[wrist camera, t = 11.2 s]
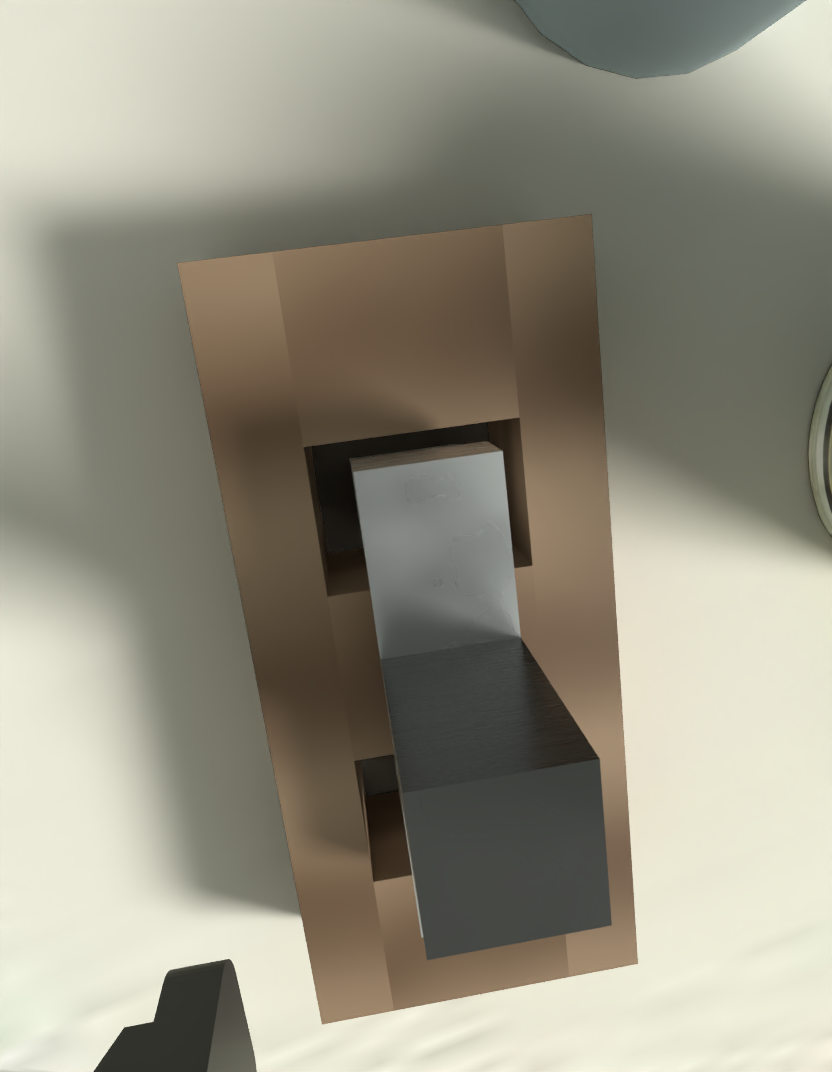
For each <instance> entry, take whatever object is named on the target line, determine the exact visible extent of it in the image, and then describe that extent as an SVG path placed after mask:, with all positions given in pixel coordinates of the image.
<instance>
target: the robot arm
mask: <svg viewBox="0 0 832 1072" xmlns="http://www.w3.org/2000/svg"><path fill="white" fill-rule="evenodd" d="M94 1072H256V1063H255V1056H254V1051H253V1046H252V1042H251V1038H250V1033H249V1029H248V1024H247V1020H246V1016H245V1011H244V1007H243V1003H242V998H241V994H240V989H239V985H238V981H237V976H236V972H235V968H234V965H233V963H232V961H231V960H230V959H226V960H221V961H216V962H210V963H205V964H200V965H194V966H189V967H184V968H179V969H173V970H170V971H168V973H167V974H166V977H165V979H164V982H163V986H162V990H161V994H160V998H159V1002H158V1006H157V1010H156V1014H155V1018H154V1022H151V1023H145V1024H140V1025H135V1026H130V1027H125V1028H124V1029H123V1030H122V1032H121V1033H120V1034H119V1036H118V1037H117V1039H116V1040H115V1042H114V1043H113V1044H112V1046H111V1047H110V1049H109V1050H108V1052H107V1053H106V1054H105V1056H104V1057H103V1059H102V1060H101V1062H100V1063H99V1064H98V1066H97V1067H96V1069H95V1070H94Z"/></svg>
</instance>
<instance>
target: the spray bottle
mask: <svg viewBox="0 0 832 1072" xmlns="http://www.w3.org/2000/svg"><path fill="white" fill-rule="evenodd" d="M516 1H517V3H518V4H519V5H520V7H521V8H522V9H523V11H524V12H525V13H526V15H527V16H528V17H529V19H530V20H531V21H532V23H533V24H534V25H535V27H536V28H537V29H538V31H539V32H540V33H541V34H542V35H544V36H545V37H546V38H548V39H549V40H551V41H552V42H554V43H555V44H556V45H558V46H559V47H561V48H562V49H564V50H565V51H566V52H568V53H569V54H571V55H572V56H574V57H575V58H576V59H578V60H579V61H581V62H582V63H584V64H585V65H588V66H591V67H595V68H599V69H603V70H606V71H610V72H614V73H618V74H621V75H625V76H629V77H633V78H636V79H637V78H647V77H657V76H667V75H676V74H686V73H690V72H692V71H694V70H696V69H698V68H700V67H702V66H704V65H706V64H708V63H711V62H713V61H715V60H717V59H719V58H721V57H723V56H725V55H727V54H729V53H731V52H733V51H735V50H737V49H739V48H740V47H741V46H743V45H744V44H746V43H747V42H748V41H750V40H751V39H753V38H754V37H755V36H757V35H758V34H760V33H761V32H762V31H764V30H765V29H767V28H768V27H769V26H771V25H772V24H774V23H775V22H776V21H778V20H779V19H781V18H782V17H783V16H785V15H786V14H788V13H789V12H790V11H792V10H793V9H795V8H796V7H797V6H799V5H800V4H802V3H803V2H804V1H806V0H516Z"/></svg>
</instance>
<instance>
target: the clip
mask: <svg viewBox="0 0 832 1072" xmlns="http://www.w3.org/2000/svg"><path fill="white" fill-rule="evenodd" d="M350 465H351V472H352V479H353V485H354V492H355V499H356V506H357V512H358V518H359V524H360V530H361V536H362V542H363V548H364V554H365V560H366V567H367V573H368V580H369V587H370V594H371V601H372V607H373V614H374V621H375V628H376V634H377V641H378V648H379V655H380V662H381V668H382V675H383V682H384V689H385V696H386V702H387V709H388V716H389V723H390V729H391V736H392V743H393V750H394V754H393V756H394V763H395V769H396V776H397V782H398V789H399V795H400V801H401V808H402V814H403V821H404V827H405V833H406V840H407V846H408V853H409V859H410V865H411V872H412V879H413V886H414V892H415V899H416V905H417V912H418V918H419V924H420V931H421V937H423V939H424V945H425V951H426V958H427V960H432V959H437V958H443V957H448V956H453V955H458V954H464V953H469V952H474V951H479V950H485V949H490V948H495V947H501V946H506V945H511V944H516V943H522V942H527V941H532V940H538V939H543V938H548V937H553V936H559V935H564V934H569V933H574V932H580V931H585V930H590V929H596V928H601V927H606V926H611V925H612V920H611V906H610V893H609V879H608V865H607V851H606V838H605V824H604V810H603V796H602V783H601V769H600V758H599V757H598V755H597V754H596V752H595V751H594V749H593V748H592V746H591V745H590V743H589V741H588V740H587V738H586V737H585V735H584V734H583V732H582V731H581V729H580V728H579V726H578V725H577V723H576V721H575V720H574V718H573V717H572V715H571V714H570V712H569V711H568V709H567V708H566V706H565V705H564V703H563V701H562V700H561V698H560V697H559V695H558V694H557V692H556V691H555V689H554V688H553V686H552V685H551V683H550V681H549V680H548V678H547V677H546V675H545V674H544V672H543V671H542V669H541V668H540V666H539V664H538V663H537V661H536V660H535V658H534V657H533V655H532V654H531V652H530V651H529V649H528V648H527V646H526V644H525V643H524V641H523V640H522V638H521V634H520V624H519V613H518V603H517V593H516V582H515V572H514V562H513V552H512V541H511V531H510V521H509V510H508V500H507V490H506V479H505V469H504V459H503V451H502V450H501V449H499V448H497V447H496V446H494V445H493V444H491V443H489V442H488V441H483V442H476V443H469V444H462V445H456V444H450V445H442V446H435V447H428V448H421V449H414V450H407V451H400V452H393V453H386V454H378V455H371V456H364V457H357V458H350Z"/></svg>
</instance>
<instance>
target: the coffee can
mask: <svg viewBox="0 0 832 1072" xmlns="http://www.w3.org/2000/svg"><path fill="white" fill-rule="evenodd" d="M809 472H810V480H811V485H812V490H813V495H814V499H815V502H816V506H817V509H818V513H819V516H820V518H821V520H822V522H823V523H824V525H825V527H826V529H827V530H828V532H829V533H830V535H831V536H832V365H831V367H830V369H829V371H828V374H827V376H826V378H825V380H824V382H823V384H822V387H821V390H820V392H819V395H818V398H817V401H816V405H815V410H814V414H813V419H812V424H811V431H810V439H809Z"/></svg>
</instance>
